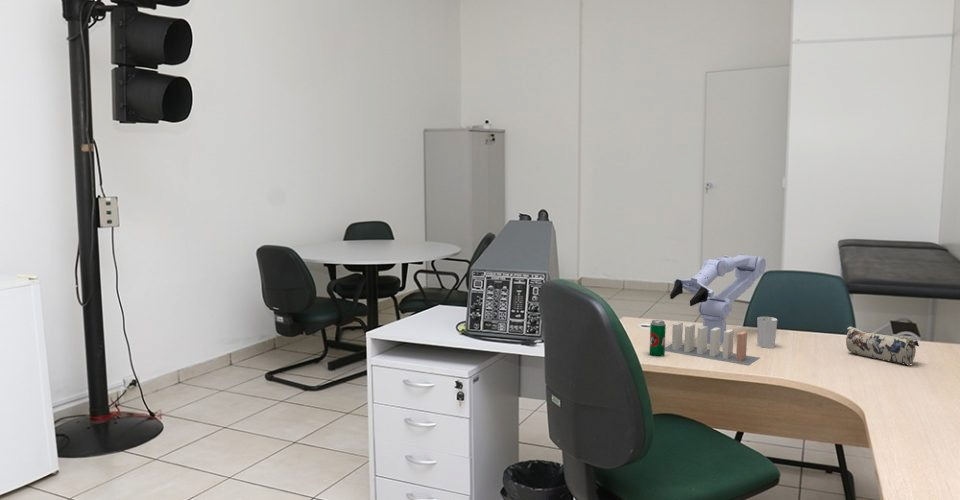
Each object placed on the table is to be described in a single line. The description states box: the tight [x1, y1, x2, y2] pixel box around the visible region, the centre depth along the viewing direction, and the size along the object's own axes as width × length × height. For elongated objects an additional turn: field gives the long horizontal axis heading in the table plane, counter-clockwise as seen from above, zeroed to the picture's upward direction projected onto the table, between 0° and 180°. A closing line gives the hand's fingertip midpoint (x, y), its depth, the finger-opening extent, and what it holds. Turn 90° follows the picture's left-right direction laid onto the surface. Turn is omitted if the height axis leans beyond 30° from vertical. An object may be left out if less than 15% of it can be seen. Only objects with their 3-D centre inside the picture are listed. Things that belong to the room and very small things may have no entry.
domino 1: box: [671, 321, 684, 350], centre depth 256 cm, size 2×5×9 cm, turn 142°
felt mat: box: [665, 343, 761, 366], centre depth 250 cm, size 12×31×1 cm, turn 52°
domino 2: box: [683, 323, 696, 352], centre depth 254 cm, size 2×5×9 cm, turn 142°
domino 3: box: [696, 325, 708, 354], centre depth 251 cm, size 2×5×9 cm, turn 141°
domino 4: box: [709, 327, 721, 357], centre depth 248 cm, size 2×5×9 cm, turn 141°
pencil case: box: [845, 326, 920, 366], centre depth 246 cm, size 22×8×10 cm, turn 35°
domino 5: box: [722, 328, 735, 359], centre depth 245 cm, size 2×5×9 cm, turn 141°
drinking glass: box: [756, 316, 778, 349], centre depth 262 cm, size 7×7×10 cm
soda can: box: [649, 319, 666, 357], centre depth 248 cm, size 5×5×12 cm
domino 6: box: [735, 330, 748, 361], centre depth 242 cm, size 2×5×9 cm, turn 141°
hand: (680, 300), depth 251 cm, fingers open, 7 cm apart
